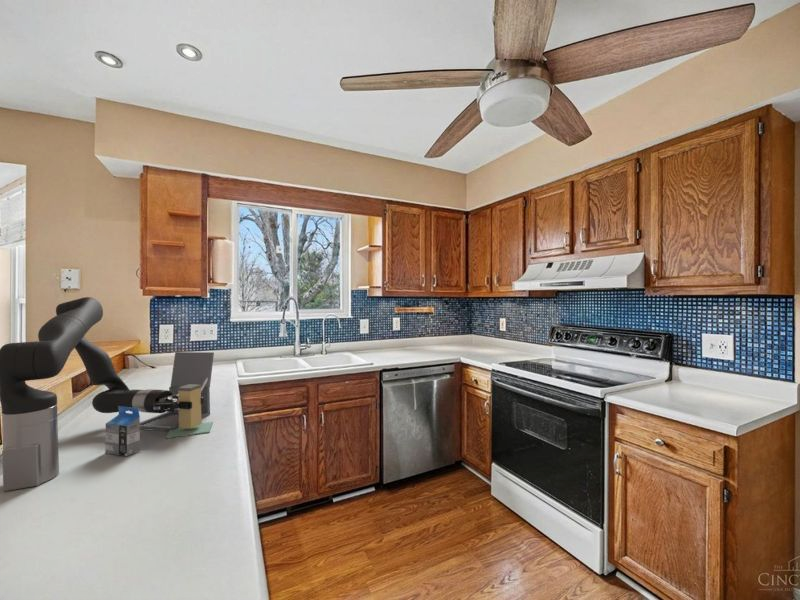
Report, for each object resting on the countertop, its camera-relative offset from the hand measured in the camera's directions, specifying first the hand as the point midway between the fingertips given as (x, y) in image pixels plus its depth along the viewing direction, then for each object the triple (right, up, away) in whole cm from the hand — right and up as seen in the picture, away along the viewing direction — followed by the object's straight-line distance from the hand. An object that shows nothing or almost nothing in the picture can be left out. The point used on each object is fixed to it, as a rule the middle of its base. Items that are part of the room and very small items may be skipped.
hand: (197, 403), depth 116 cm
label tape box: (-12, -10, -15) cm, 22 cm away
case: (-14, -9, +11) cm, 20 cm away
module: (-3, -8, +1) cm, 8 cm away
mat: (-2, -9, +1) cm, 9 cm away
